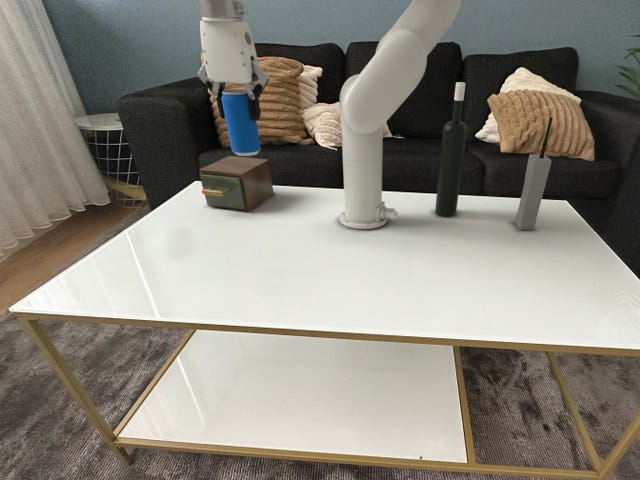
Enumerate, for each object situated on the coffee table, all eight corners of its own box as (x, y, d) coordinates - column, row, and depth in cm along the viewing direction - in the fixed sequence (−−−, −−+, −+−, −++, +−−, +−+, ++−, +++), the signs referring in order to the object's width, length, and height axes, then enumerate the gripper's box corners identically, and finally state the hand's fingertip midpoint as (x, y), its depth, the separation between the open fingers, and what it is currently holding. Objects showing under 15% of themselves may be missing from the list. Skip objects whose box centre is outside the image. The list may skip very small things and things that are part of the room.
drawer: (236, 214, 106) (229, 183, 101) (197, 209, 108) (189, 179, 103) (268, 193, 119) (263, 165, 114) (233, 189, 121) (227, 161, 116)
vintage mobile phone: (527, 222, 108) (554, 114, 91) (533, 230, 104) (563, 118, 88) (513, 222, 108) (538, 114, 91) (519, 230, 104) (546, 118, 88)
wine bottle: (459, 212, 113) (477, 82, 93) (450, 218, 109) (467, 84, 89) (440, 208, 115) (454, 80, 95) (431, 214, 111) (444, 82, 92)
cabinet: (249, 211, 110) (241, 174, 104) (208, 206, 113) (199, 169, 107) (274, 194, 121) (268, 159, 115) (236, 189, 124) (229, 155, 117)
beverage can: (264, 150, 96) (255, 89, 88) (256, 157, 91) (245, 94, 83) (238, 149, 96) (226, 88, 88) (228, 156, 91) (215, 93, 83)
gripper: (271, 13, 79) (284, 118, 90) (192, 10, 82) (214, 113, 93) (253, 12, 73) (269, 125, 85) (169, 10, 76) (195, 119, 88)
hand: (240, 118), depth 89 cm, fingers closed on beverage can, 6 cm apart
